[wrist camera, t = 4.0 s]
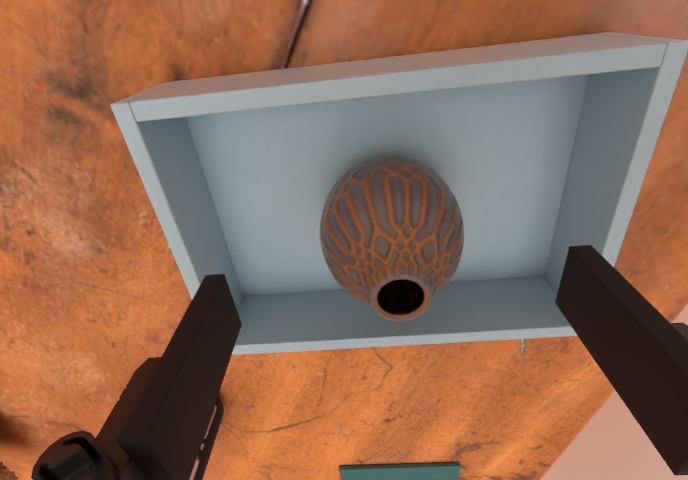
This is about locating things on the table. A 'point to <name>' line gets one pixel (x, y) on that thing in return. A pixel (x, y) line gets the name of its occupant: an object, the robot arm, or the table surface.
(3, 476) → the grey rock
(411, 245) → the vase
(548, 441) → the table surface
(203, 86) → the tray
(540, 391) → the table surface
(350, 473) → the mat
